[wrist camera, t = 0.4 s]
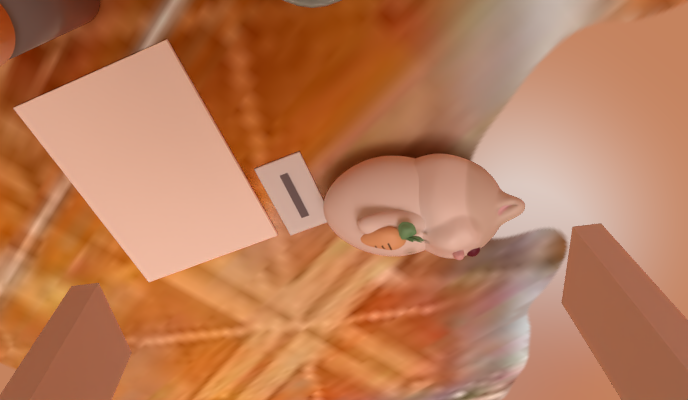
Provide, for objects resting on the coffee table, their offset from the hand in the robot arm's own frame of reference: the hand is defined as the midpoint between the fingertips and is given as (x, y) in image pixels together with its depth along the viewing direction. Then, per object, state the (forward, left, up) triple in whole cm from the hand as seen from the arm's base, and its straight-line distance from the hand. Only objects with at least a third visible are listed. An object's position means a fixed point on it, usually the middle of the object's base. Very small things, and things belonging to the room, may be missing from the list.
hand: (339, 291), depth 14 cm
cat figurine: (+12, +3, -26) cm, 29 cm away
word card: (+9, -7, -26) cm, 28 cm away
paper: (+3, -16, -26) cm, 31 cm away
